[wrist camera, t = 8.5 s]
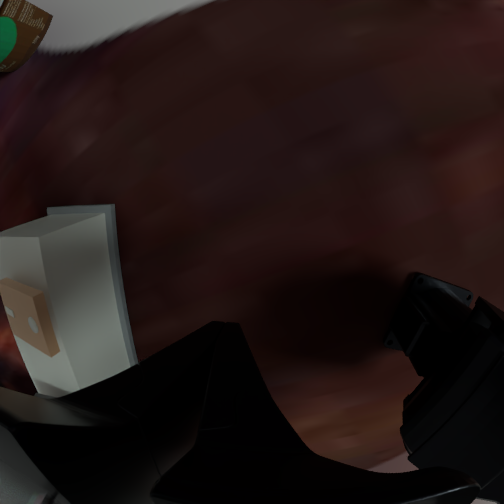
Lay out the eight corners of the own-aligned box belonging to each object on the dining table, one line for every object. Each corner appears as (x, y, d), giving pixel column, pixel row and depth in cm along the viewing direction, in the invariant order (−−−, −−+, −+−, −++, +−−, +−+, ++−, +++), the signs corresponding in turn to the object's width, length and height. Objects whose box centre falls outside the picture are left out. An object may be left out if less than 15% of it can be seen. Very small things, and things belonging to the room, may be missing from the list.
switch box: (114, 203, 21) (43, 226, 13) (147, 397, 26) (115, 453, 19) (51, 206, 22) (-17, 227, 14) (90, 382, 27) (54, 428, 19)
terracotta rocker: (43, 291, 13) (31, 297, 12) (60, 351, 14) (50, 358, 13) (6, 277, 14) (-4, 281, 13) (20, 328, 15) (12, 333, 14)
